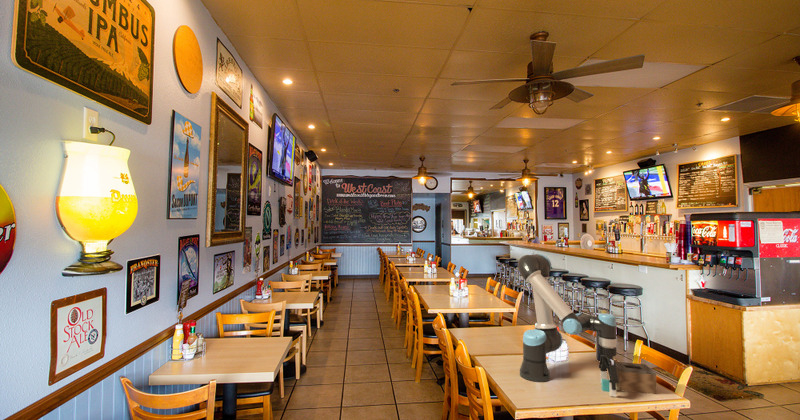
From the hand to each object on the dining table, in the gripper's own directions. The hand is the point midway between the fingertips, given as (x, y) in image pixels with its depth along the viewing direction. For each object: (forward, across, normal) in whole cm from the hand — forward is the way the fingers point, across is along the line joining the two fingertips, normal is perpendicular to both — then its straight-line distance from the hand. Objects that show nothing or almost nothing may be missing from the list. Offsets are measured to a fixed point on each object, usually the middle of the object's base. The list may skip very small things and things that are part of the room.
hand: (608, 390), depth 179 cm
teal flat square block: (0, 0, 0) cm, 0 cm away
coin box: (0, +8, -14) cm, 16 cm away
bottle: (0, +46, -12) cm, 48 cm away
